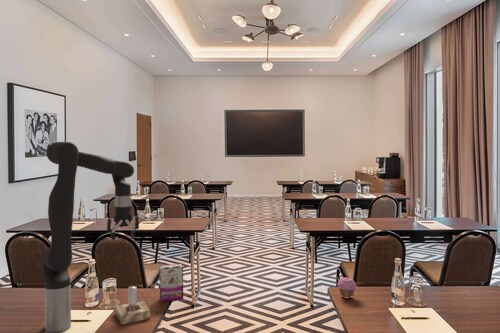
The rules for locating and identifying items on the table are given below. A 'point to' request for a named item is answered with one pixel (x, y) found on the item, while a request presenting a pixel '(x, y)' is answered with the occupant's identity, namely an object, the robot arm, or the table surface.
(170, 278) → the candy bar box
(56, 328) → the robot arm
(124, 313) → the socket block
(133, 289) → the pin
